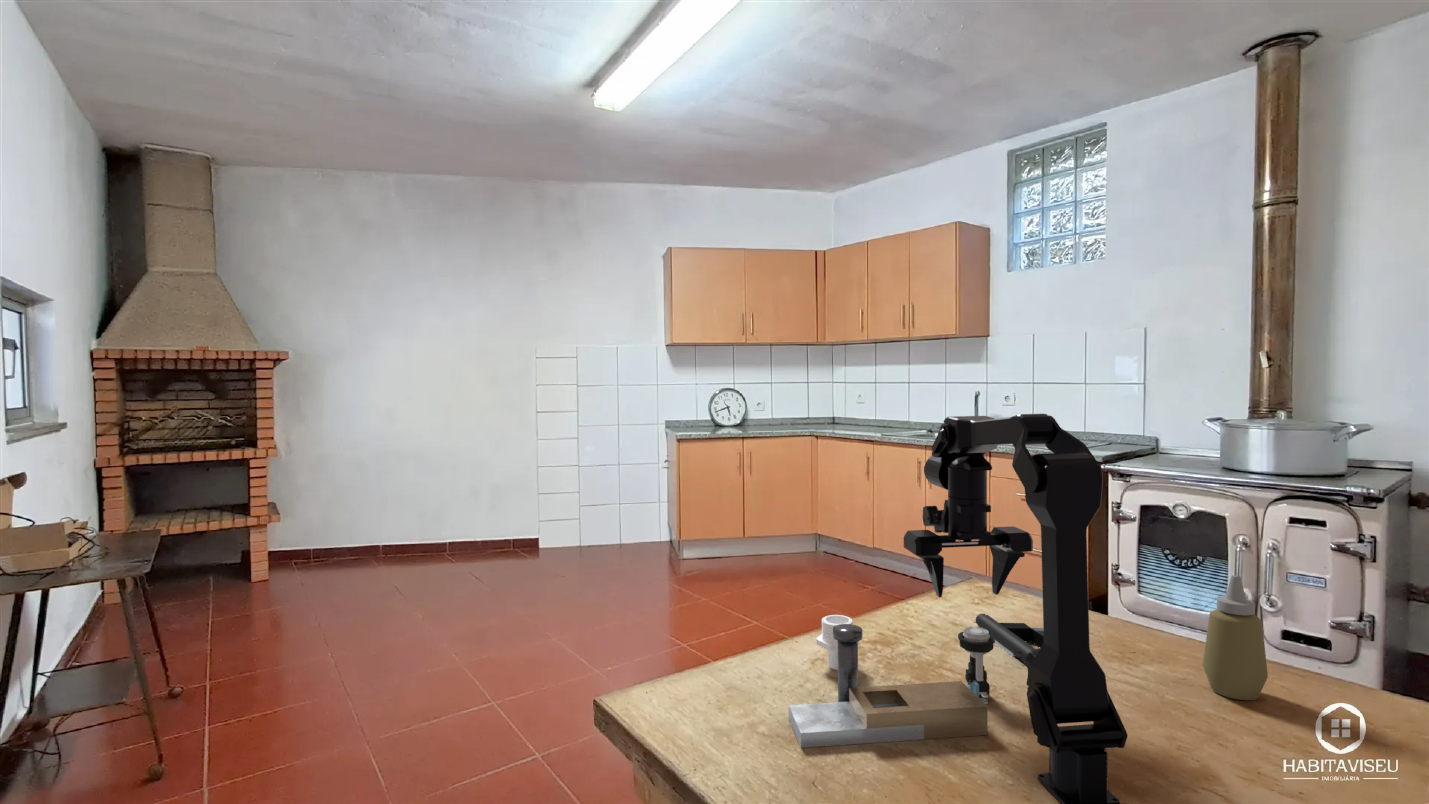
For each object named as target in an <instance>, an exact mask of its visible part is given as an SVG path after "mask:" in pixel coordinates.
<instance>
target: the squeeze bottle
mask: <svg viewBox="0 0 1429 804" xmlns="http://www.w3.org/2000/svg"><path fill="white" fill-rule="evenodd" d="M1255 605H1256V604H1255V602H1254V601H1252V600H1251V599H1248V598H1246V594H1245V589H1244V586H1243V581H1242V577H1241V576H1239V575H1235V574H1234V575H1231V576H1230V579H1229V581H1228V586H1227V590H1226V594H1225V595H1220V596H1217V597H1216V609H1213V610H1212V611H1210V612H1209V615H1208V622H1207V623H1208V624H1207V630H1206V637H1205V645H1204V653H1203V660H1202V666H1203V669H1204V673H1205V675H1206V677H1207V680H1208V683H1209V686H1210V688H1211V690H1213V692H1215V693H1216V694H1218V695H1220V696H1224V697H1226V698H1229V699H1234V700H1238V701H1255V700H1257V699H1258V698H1259V697H1260V695H1261V692H1262V690H1263V688H1264V686H1265V684H1266V682H1267V680H1268V677H1269V676H1268V675H1269V673H1268V665H1267V664H1268V663H1267V657H1266V656H1267V655H1266V648H1265V647H1266V646H1265V638H1264V637H1265V636H1264V629H1263V627H1264V625H1263V621H1262V619H1261V618H1260V617H1258V616H1257V615H1256V614H1255Z"/></svg>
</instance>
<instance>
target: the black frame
mask: <svg viewBox="0 0 1429 804" xmlns="http://www.w3.org/2000/svg"><path fill="white" fill-rule="evenodd" d="M973 624H976V625H977V627H980V628H984V629H986V630H988V632H989V634H990V635H992V636H993V637H994V638H995V643H994V644H995V645H997V646H998V647H1000V648H1001V649H1003V651H1004V652H1006V653H1007V654H1009V655H1010V656H1011V657H1015V658H1017V659H1019V660H1020V661H1022V662H1023V664H1026V665H1027V657H1028V654H1029V653H1031V652H1039V650H1040V648H1041V647H1042V645H1043V643H1044V627H1030V626H1029V625H1028V624H1026V623H1024V622H998V621H997V620H995V619H994V618H992V617H991V616H990V615H989V614H985V613H979V614H978V615H976V618H975V621H974V622H973ZM1025 641H1027V642H1025ZM1028 642H1031V643H1032V644H1033V645H1035V644H1036V645H1037V646H1036V645H1035V646H1036V647H1037V648H1035V647H1033V646H1032V645H1031V644H1030V643H1028ZM1039 647H1040V648H1039Z"/></svg>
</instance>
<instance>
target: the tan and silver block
mask: <svg viewBox="0 0 1429 804" xmlns="http://www.w3.org/2000/svg"><path fill="white" fill-rule="evenodd" d="M984 702H985V701H982V700H981V699H980V698H979V697H977V696H976V695H975V694H974V693H973V692H972V691H971V690H970V689H969V688H968V687H967V686H966V684H965V683H964V682H963V681H962V680H957V681H956V680H955V681H941V682H925V683H924V682H923V683H909V684H908V683H905V684H893V685H875V686H873V685H872V686H860V687H859V686H858V687H856V688H849V701H848V702H838V701H837V702H836V701H835V702H821V703H820V702H819V703H803V704H790V705H789V704H788V721H789V722H790V726H791V728H792V730H793V733H794V735H795V737H796V739H797V742H798V744H799V746H800V748H801V749H803V748H819V747H820V748H821V747H833V746H846V745H847V746H848V745H861V744H862V745H863V744H876V743H889V742H902V741H903V742H905V741H916V740H917V741H918V740H919V741H921V740H932V739H933V740H934V739H944V738H946V739H948V738H960V737H975V736H977V737H978V736H988V735H989V734H988V731H989V730H988V725H989V724H988V719H989V718H988V717H989V716H988V715H989V714H988V710H989V709H988V705H987V704H985V703H984Z"/></svg>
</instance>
